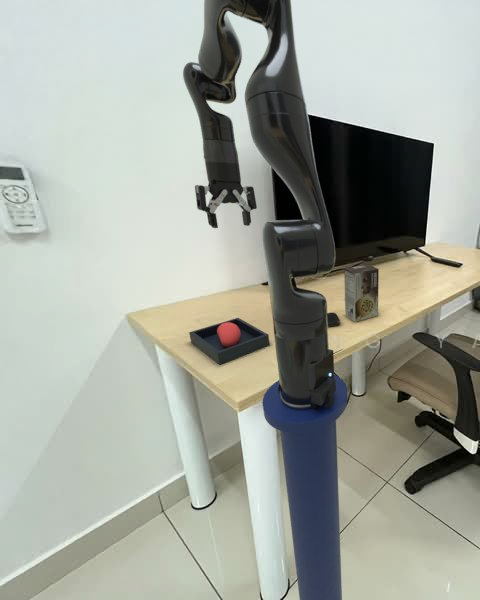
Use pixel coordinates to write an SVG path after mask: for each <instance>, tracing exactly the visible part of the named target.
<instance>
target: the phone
mask: <svg viewBox="0 0 480 600" xmlns="http://www.w3.org/2000/svg"><path fill="white" fill-rule="evenodd" d="M327 320H328V328H329V327H331V328H332V327H337V326H340V325H341V319H340V318H339V316H338V314H337V312H327Z"/></svg>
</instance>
